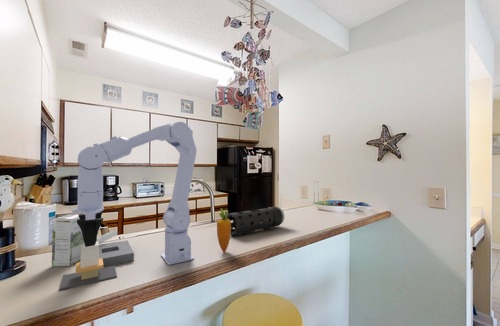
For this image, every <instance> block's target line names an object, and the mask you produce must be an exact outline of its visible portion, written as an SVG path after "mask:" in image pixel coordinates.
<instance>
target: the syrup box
mask: <svg viewBox="0 0 500 326" xmlns="http://www.w3.org/2000/svg"><path fill="white" fill-rule="evenodd" d="M78 215H79V214H68V215H63V216H59V217H54V218H53V219H52V239H51V241H52V243H51V244H52V245H51V267H70V266H73V265H76V263H79V262H81V244H84V240H83V235H82V231H81V229H80V227H79V225H78V224H77V219H80V218H79V217H78Z"/></svg>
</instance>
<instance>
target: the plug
mask: <svg viewBox="0 0 500 326" xmlns="http://www.w3.org/2000/svg"><path fill="white" fill-rule="evenodd" d="M99 245H100V244H99V241H98V242H96V244H95V246H88V247H85V244H81V261H79V262H77V263H75V271H74V273H75V274H77V273H81V280H83V279H88V278H92V277H97V276H98V269H101V268H103V259H102V258H100V259H99Z"/></svg>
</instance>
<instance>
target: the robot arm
mask: <svg viewBox="0 0 500 326" xmlns="http://www.w3.org/2000/svg"><path fill="white" fill-rule="evenodd" d="M193 133H194V132H193V130H192V129H191V127H189V125H188V124H187V123H185V122H183V121H176V122H174V123H173V124H172V123H167V124H164V125H160V126H156V127H153V128H151V129H149V130H146V131H143V132H141V133H139V134H137V135H135V136H131V137H130V138H128V137H127V138H126V137H123V136H118V137H117V136H116V135H115V136H111V139H110V140H107V141H104V142H101V143H94V144H92V146H87V147H85V148H84V149H82V150H80V152H78V155H77V163H78V164H79V168H78V169H77V171H78V172H77V173H78V175H77V208H73V209H72V210H71V212H72V213H73V214H74V213H77V215H78V217H79V218H80V219H77V224H78V225H79V227H80V229H81V231H82V235H83V240H84V244H85V247H88V246H95V244H96V240H97V238H98V234H99V230H100V227H101V225H102V224H103V221H104V217H102V215H103V212H102V211H104V210H105V208H104V175H103V165H104V163H106V164H110V163H111V162H115V161H117V160H120V159H122V158H123V157H126V156H129V155H130V154H131V153H132V151H133V149H134V148H138V147H139V146H142V145H145V144H148V143H150V142H154V141H162V142H163V141H166V142H167V143H168V144H169V145H171V146H172V147H174V148H175V149H176V151H177V152H178V154H179V159H178V164H177V170H176V175H175V181H174V186H173V189H172V194H171V195H172V196H171V200H170V201H169V203H168V204H167V208H166V210H165V211H164V212H163V217H162V219H163V220H162V221H163V222H164V224H165V225H166V226H165V228H164V253H162V254H160V256H161V257H162V259H163V260H164V261H165V262H166V263H167V265H169V266H171V265H174V264H179V263H183V262H188V261H192V260H194V259H195V258H194V256H192V240H191V237H190V236H189V232H188V230H189V229H188V228H189V226H190V224H191V216H190V210H191V209H190V206H189V205H190V204H189V197H190V191H191V190H190V189H191V184H192V179H193V172H194V169H195V162H196V156H197V147H196V146H197V145H196V143H195V140H194V136H193Z"/></svg>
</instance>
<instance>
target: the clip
mask: <svg viewBox="0 0 500 326" xmlns="http://www.w3.org/2000/svg"><path fill="white" fill-rule="evenodd" d="M116 236H118V229H114V230H110V231H109V232H107V233H104V234H102V235H100V236H97V240H96V242H98V241H99V245H101V244H104V242H106V241H108V240H110V239H112V238H114V237H116Z"/></svg>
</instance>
